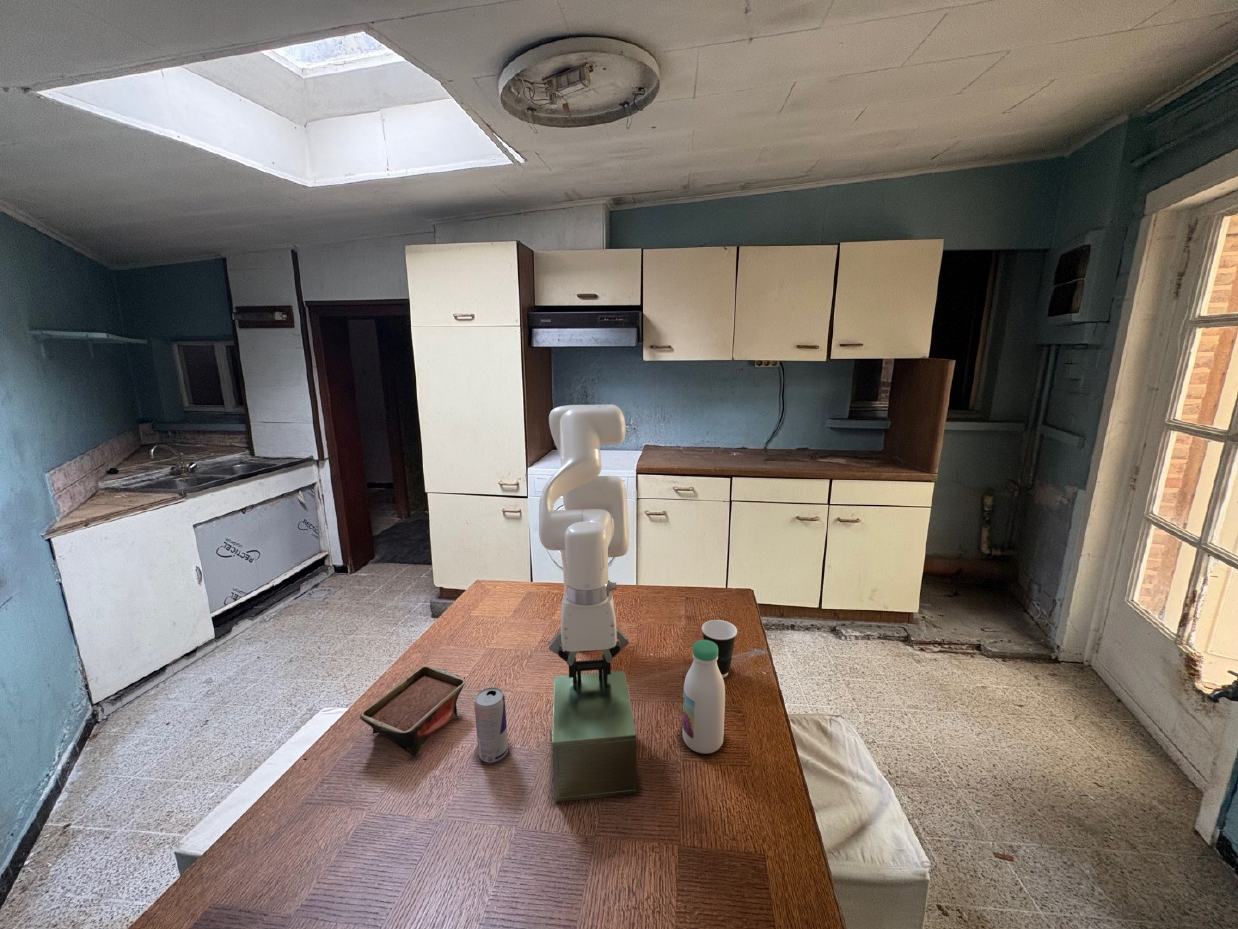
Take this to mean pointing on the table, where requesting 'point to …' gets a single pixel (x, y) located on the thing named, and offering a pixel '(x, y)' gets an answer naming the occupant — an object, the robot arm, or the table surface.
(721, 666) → the dixie cup
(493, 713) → the energy drink
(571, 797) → the bin
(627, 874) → the table surface
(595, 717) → the bin lid
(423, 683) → the rectangular footed planter
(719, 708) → the milk bottle
